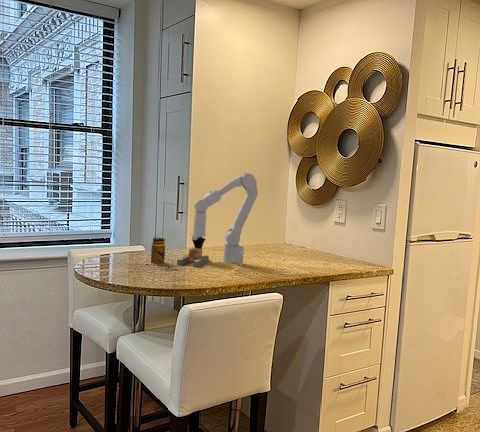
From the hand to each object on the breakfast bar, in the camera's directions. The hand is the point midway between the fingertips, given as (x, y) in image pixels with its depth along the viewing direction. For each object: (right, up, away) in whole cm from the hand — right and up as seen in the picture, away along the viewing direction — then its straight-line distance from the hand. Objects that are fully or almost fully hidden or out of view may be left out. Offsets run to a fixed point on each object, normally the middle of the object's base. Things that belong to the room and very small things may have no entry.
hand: (197, 253), depth 230 cm
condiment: (-18, -4, -12) cm, 22 cm away
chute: (-2, -5, -6) cm, 8 cm away
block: (-1, -4, -3) cm, 5 cm away
